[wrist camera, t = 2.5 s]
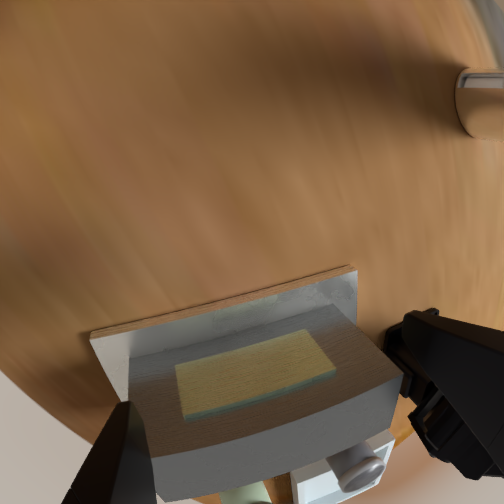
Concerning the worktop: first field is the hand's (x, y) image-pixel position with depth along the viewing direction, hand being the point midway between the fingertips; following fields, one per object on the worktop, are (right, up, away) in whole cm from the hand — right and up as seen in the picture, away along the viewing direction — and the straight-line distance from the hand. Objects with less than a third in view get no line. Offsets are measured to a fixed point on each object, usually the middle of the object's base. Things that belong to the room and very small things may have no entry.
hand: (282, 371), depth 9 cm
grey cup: (+8, -15, +21) cm, 27 cm away
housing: (-2, -4, +13) cm, 14 cm away
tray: (+10, -25, +25) cm, 37 cm away
